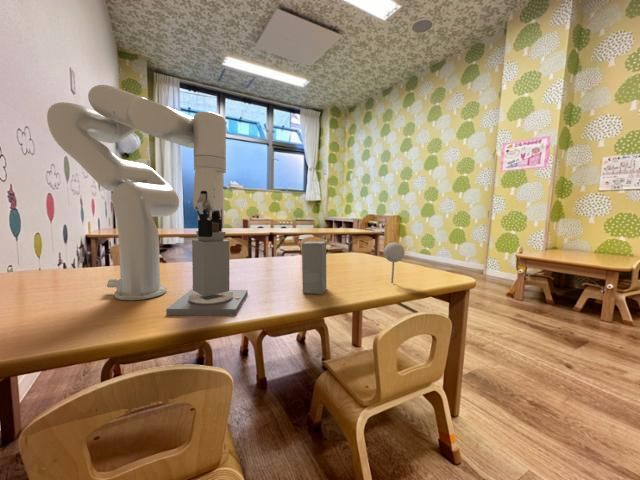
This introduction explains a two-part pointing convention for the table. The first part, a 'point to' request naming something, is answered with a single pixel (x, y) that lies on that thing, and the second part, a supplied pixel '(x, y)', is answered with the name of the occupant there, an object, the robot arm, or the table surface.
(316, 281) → the skincare box
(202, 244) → the perfume bottle
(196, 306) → the mount base
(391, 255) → the lollipop
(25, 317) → the table surface
